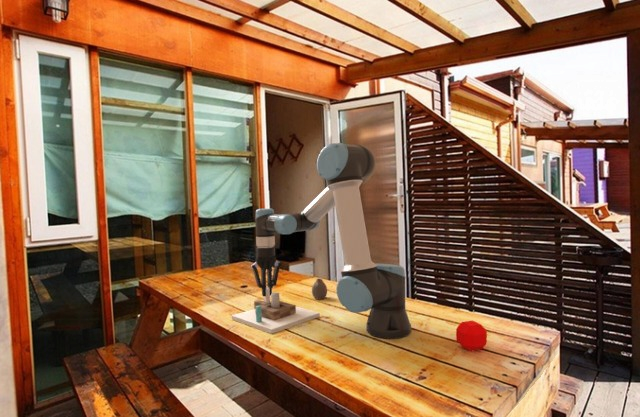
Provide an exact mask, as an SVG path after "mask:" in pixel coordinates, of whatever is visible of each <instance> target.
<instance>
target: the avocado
mask: <svg viewBox="0 0 640 417" xmlns="http://www.w3.org/2000/svg"><path fill="white" fill-rule="evenodd" d="M311 294H312V296H313V298H314V299H315V300H324V299H325V298H326V297H327V295H328V287H327V285H326V284H325V282H324V281H323V279H322V278H316V280H315V281H314V284H313V285H312V288H311Z"/></svg>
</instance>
